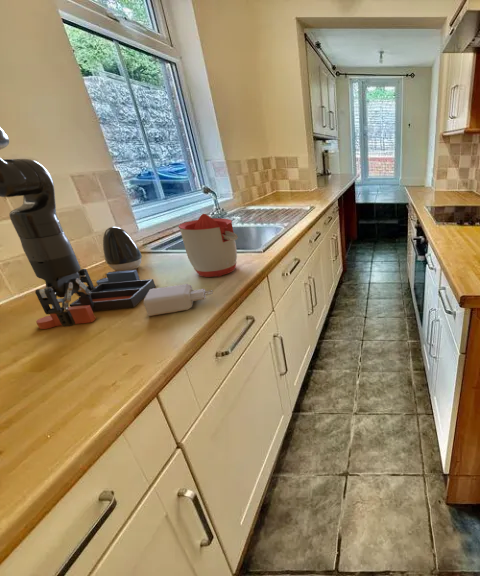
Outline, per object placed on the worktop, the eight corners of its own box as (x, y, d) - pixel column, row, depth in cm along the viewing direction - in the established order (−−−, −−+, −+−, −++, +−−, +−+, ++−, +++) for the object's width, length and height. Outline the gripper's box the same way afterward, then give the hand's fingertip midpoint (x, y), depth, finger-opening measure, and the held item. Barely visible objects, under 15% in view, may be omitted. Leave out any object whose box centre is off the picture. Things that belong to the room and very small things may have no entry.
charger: (213, 306, 86) (148, 318, 81) (215, 293, 94) (155, 303, 88) (209, 291, 84) (142, 301, 79) (211, 278, 92) (150, 287, 86)
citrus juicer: (228, 282, 102) (214, 219, 94) (180, 278, 105) (163, 217, 96) (254, 265, 116) (244, 210, 108) (212, 262, 119) (199, 208, 110)
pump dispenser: (143, 262, 120) (130, 222, 113) (146, 269, 112) (132, 227, 106) (109, 268, 114) (92, 226, 107) (110, 276, 106) (93, 232, 100)
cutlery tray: (73, 313, 83) (69, 304, 82) (103, 291, 96) (100, 283, 95) (133, 307, 86) (130, 299, 85) (155, 286, 99) (153, 279, 98)
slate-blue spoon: (136, 284, 100) (132, 273, 98) (95, 288, 98) (90, 276, 96) (141, 280, 103) (137, 268, 102) (102, 283, 101) (97, 271, 99)
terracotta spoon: (89, 324, 78) (83, 309, 76) (35, 330, 76) (27, 315, 74) (98, 316, 81) (92, 303, 80) (46, 322, 79) (39, 307, 77)
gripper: (53, 246, 77) (80, 306, 84) (4, 266, 65) (40, 334, 71) (89, 244, 79) (112, 302, 86) (48, 263, 66) (80, 330, 73)
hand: (80, 317), depth 78 cm, fingers open, 7 cm apart
